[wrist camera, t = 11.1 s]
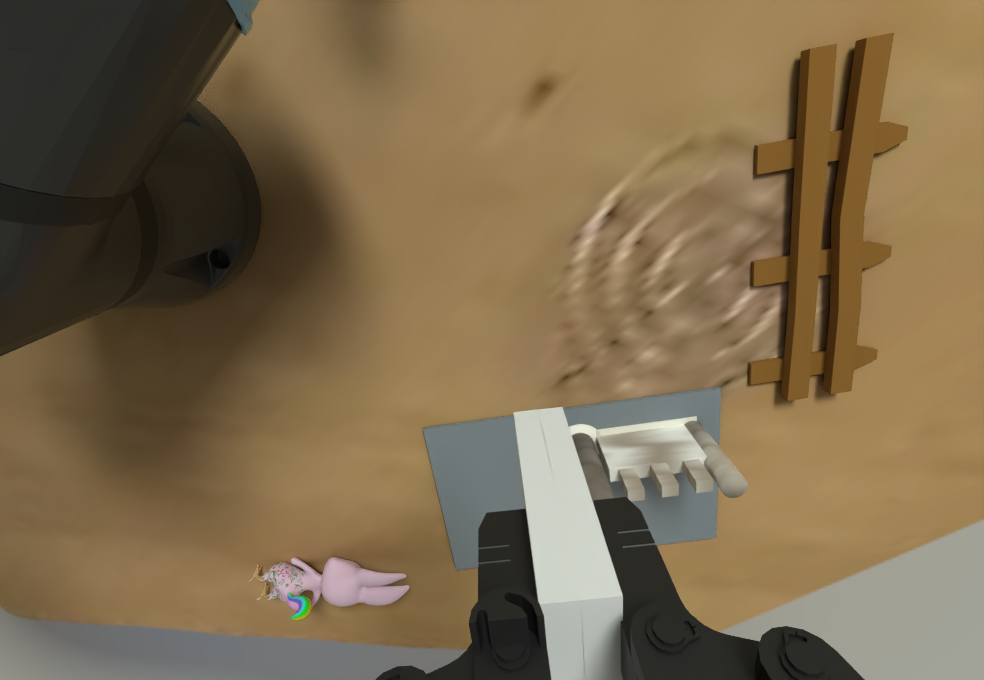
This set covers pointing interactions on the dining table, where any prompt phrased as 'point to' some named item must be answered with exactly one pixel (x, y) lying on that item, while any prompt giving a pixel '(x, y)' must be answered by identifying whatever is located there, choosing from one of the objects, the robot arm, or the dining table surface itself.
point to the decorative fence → (846, 220)
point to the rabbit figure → (329, 585)
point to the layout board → (493, 446)
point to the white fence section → (657, 462)
